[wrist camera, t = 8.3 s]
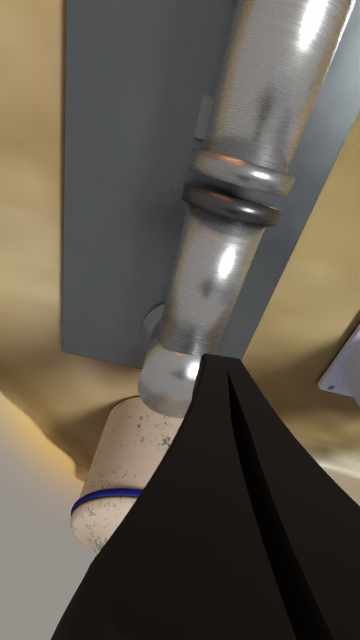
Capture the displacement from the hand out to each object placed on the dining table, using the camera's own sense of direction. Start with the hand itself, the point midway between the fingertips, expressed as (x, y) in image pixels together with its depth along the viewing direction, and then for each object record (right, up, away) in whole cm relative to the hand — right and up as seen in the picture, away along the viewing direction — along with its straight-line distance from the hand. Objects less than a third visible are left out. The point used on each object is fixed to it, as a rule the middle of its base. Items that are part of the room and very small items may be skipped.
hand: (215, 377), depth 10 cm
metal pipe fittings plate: (-1, +9, +7) cm, 11 cm away
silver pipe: (0, +4, +8) cm, 9 cm away
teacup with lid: (-3, -8, +17) cm, 19 cm away
